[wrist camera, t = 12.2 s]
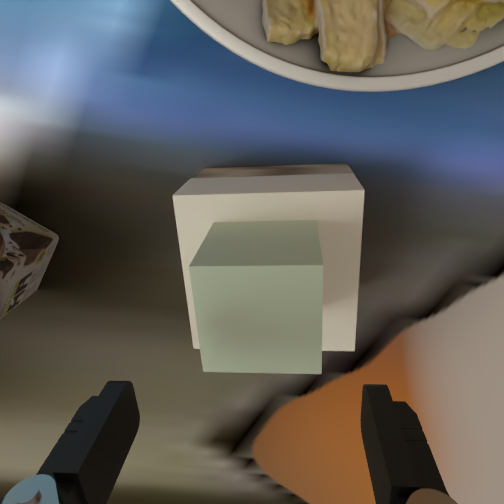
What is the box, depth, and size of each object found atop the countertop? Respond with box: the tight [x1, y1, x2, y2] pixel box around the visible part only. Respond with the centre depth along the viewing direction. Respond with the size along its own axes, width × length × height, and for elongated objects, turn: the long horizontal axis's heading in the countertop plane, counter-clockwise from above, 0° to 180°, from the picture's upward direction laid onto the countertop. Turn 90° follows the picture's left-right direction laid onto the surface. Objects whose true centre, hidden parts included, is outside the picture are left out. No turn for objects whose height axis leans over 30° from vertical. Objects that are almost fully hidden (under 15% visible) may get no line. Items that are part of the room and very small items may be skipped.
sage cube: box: [189, 220, 323, 374], centre depth 19 cm, size 6×6×6 cm
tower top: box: [172, 173, 365, 351], centre depth 24 cm, size 10×10×4 cm
